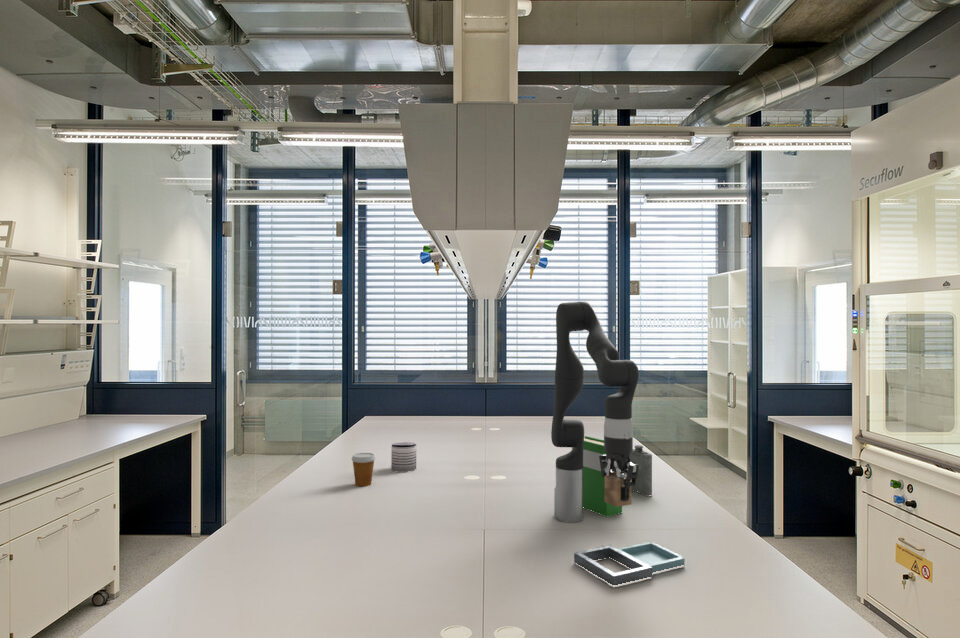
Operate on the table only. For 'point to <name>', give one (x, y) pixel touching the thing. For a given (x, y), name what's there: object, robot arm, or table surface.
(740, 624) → the table surface
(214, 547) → the table surface
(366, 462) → the disposable coffee cup
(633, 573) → the holder
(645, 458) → the flask
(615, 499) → the walnut block
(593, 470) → the hardback book
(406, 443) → the can
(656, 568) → the tray
